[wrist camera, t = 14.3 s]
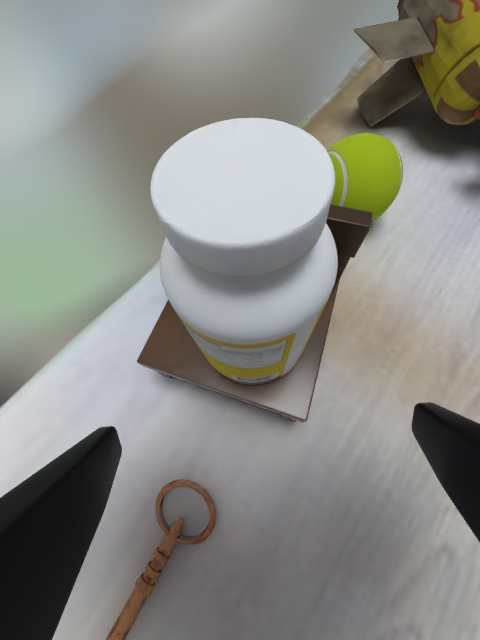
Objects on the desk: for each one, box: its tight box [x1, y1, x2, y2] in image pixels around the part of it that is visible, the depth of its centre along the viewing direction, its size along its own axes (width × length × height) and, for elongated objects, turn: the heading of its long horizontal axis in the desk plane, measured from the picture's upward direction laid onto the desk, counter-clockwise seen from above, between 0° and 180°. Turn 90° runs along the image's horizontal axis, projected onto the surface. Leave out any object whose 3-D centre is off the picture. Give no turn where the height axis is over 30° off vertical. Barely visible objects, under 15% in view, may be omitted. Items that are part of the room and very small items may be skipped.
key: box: [106, 480, 216, 640], centre depth 14 cm, size 6×1×15 cm
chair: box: [137, 204, 373, 422], centre depth 17 cm, size 10×11×10 cm
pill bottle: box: [151, 118, 338, 385], centre depth 12 cm, size 6×6×12 cm
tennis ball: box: [327, 133, 403, 221], centre depth 23 cm, size 7×7×7 cm
